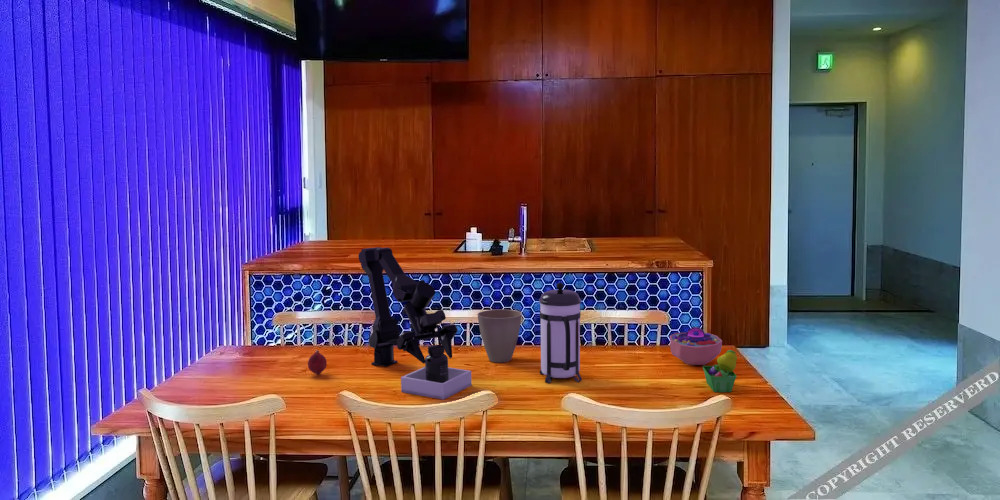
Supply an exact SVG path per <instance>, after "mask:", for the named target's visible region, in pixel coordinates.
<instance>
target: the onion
mask: <svg viewBox="0 0 1000 500" xmlns="http://www.w3.org/2000/svg"><path fill="white" fill-rule="evenodd" d="M327 363H328V362H327V358H326V357H325V356H324V354H322V353H320V350H318V349H317V350H315V352H314V353H313V354H311V356H310V357H309V359H308V360H307V367H308V370H309V371H311V373H313V374H314V375H316V376H318V375H320V374H322V373H323V371H324V370H325V369H326V367H327Z"/></svg>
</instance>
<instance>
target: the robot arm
mask: <svg viewBox="0 0 1000 500" xmlns="http://www.w3.org/2000/svg"><path fill="white" fill-rule="evenodd" d="M358 261H359V263H360V266H361V269H362V271H364V273H365V274H366V275H367V277H368V283H369V287H370V293H371V298H372V299H371V300H372V305H373V310H374V315H375V319H374V321H373V323H372V333H371V334H370V336H369V339H368V346H369V347H371V348H372V349H374V351H373V361H372V362H371V365H374V366H380V367H384V368H385V367H386V368H387V367H389V366H392V365H394V364H396V363H398V360H397V359H396V360H395V356H394V355H395V353H394V352H395V351H394V346H396V347H397V349H398V350H402V351H403V352H406V353H408V354H410V355H411V356H413V357H414V358H415V359H416V360H418V361H419V362H421V363H422V364H424V365H425V362H426V361H425V358H426V357H425V355H424V353H423V352H422V349H421V348H420V346H419V341H425V340H431V339H436V338H438V340H439V341H440V345H443V346H444V353H446V356H447V357H449V358H448V359H452V358H453V347H452V345H453V344H452V342H453V341H452V340H453V339H454V337H455V336H456V334H457V332H458V331H459V330H458V328H457V325H456V324H454V323H449V324H445V325H442V327H441V328H440V330H436V329H438V327H439V324H442V323H443V321H444V320H446V319H447V317H446V314H445V312H444V310H443V309H437V311H435V312H432V313H428V312H427V310H426V308H428V307H429V305H430V303H431V301H433V298H434V296H435V295H436V289H435V287H434V286H432V285H431V283H427V282H425V279H423V280H421V279H420V280H418V281H416V280H415V279H414V278H413V277H410V276H408V275H407V274H406V273H405V272H404V270H403V268H402V267H401V265H400V264H399V262H398V261H397V259H396V258H395V256H394V255H393V250H392V248H390V247H381V246H379V247H367V248H362V249H361V250H360V251H359V253H358ZM383 272H385V274H386V275H387V277H388V279H389V280H390V282H391V283H392V294H393V297H394V298H395V300H396V301H397V302H398V303H404V302H406V303H405V304H404V305H403V310H402V315H407V317H408V320H409V322H410V325H409V328H410V329H411V330H409V331H404V332H403V331H402V332H400V327H399V323H398V320H397V318H394V317H393V316H392V315H391V312H390V311H391V310H390V306H389V301H388V295H387V291H386V285H385V278H384V273H383ZM412 329H413V330H412Z"/></svg>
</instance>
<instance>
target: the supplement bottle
mask: <svg viewBox="0 0 1000 500" xmlns="http://www.w3.org/2000/svg"><path fill="white" fill-rule="evenodd" d="M427 347H428V348H427V355H426V356H425V357H424V358H425V361H426V362H425V363H424V367H425V372H426V381H432V382H438V383H444V382H446V381H448V380H449V375H448V367H449V358H448V357H449V356H448V355H447V354H445V350H444V346H443V345H441V344H431V345H429V346H427Z"/></svg>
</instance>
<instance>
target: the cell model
mask: <svg viewBox="0 0 1000 500" xmlns="http://www.w3.org/2000/svg"><path fill="white" fill-rule="evenodd" d="M669 344H670V345H669V346H670V353H671V355H672V356H674V357H676V358H677V359H679V360H681V361H682V362H683V363H685V364H687V365H690V366H706V365H707V364H708V363H710V362H712V361H713V360H714V359H715V358H717V356H718V355H720V353H721V351H722V346H723V345H722V344H723V340H722V339H721V338H720V337H719V336H718V335H715V334H712V333H709V332H705V331H704V329H702V328H701V327H699V326H694V327H690V328H689V329H688V330H687V331H686V332H685V331H684V332H675V333H673V334H671V335H669Z"/></svg>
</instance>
